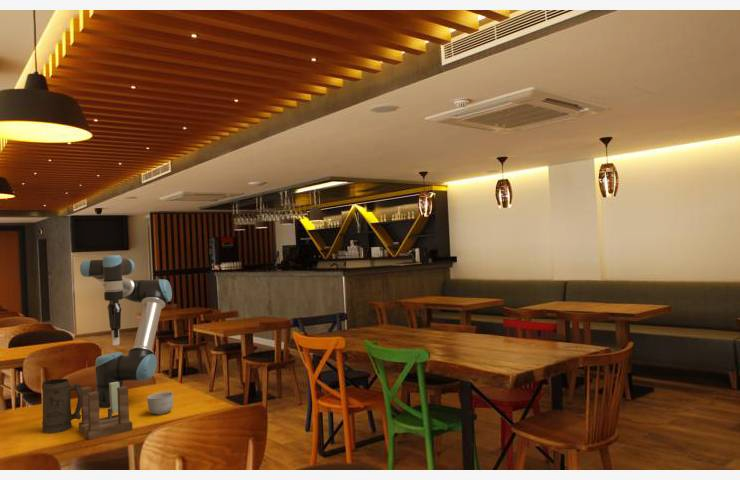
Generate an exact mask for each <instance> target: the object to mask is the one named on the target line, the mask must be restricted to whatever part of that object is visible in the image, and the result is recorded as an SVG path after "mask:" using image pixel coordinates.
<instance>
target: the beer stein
mask: <svg viewBox="0 0 740 480" xmlns="http://www.w3.org/2000/svg"><path fill="white" fill-rule="evenodd" d="M81 388H82V387H81V383H80V382H79V383H78V382H77V383H75V384H73V385H71V384H70V380H69V379H68V378H55V379H49V380H46V381H42V384H41V389H42V422H41V424H42V427H41V431H42V433H46V434H54V433H61V432H66V431H67V430H70V429H71V428H72V426H73V425H72V424H73V423H72V420H74V419H76V420H81V419H82V414H81ZM71 391H75V392H76V395H77V403H76V407H75V410H74V412H73V413H72V403H71V402H72V401H71Z"/></svg>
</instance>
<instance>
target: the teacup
mask: <svg viewBox="0 0 740 480" xmlns="http://www.w3.org/2000/svg"><path fill="white" fill-rule="evenodd" d="M146 399H147V406H148V407H147V408H148V410H149V412H150V413H151V414H153V415H154V416H155V415H156V416H158V415H164V414H167V413H169V412H170V411H171V410H172V409H173V407H174V393H173V392H172V391H163V392H157V393H152V394H150V395H148V396H147V397H146Z"/></svg>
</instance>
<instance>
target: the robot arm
mask: <svg viewBox="0 0 740 480" xmlns="http://www.w3.org/2000/svg"><path fill="white" fill-rule="evenodd" d="M135 268H136V265H135V262H134V261H133V260H132V259H131V258H122V256H121V255H120V254H113V255H112V254H111V255H104V256H103V257H102V259H87V260H83V261H82V262H80V266H79V272H80V274H81V276H82V277H84V278H85V277H86V278H87V277H88V278H91V277H92V278H94V279H96V280H97V281H99V282H100V283H102V286H103V290H104V293H103V299H104V301H106V302H107V301H109V302H108V306H107V311H108V321H109V328H110V330H111V344H112V346H118V345H120V343H121V342H120V330H121V328H122V327H121V326H122V325H121V321H122V320H121V319H122V315H121V313H122V307H121V304H120V302H119V301H120V300H121V301H122V300H123V299H125V300H128V301H130V302H134V303H141V305H143V307H142V310H141V311H142V312H141V316H140V319H139V323H138V327H137V331H136V336H135V339H134V344H133V347H131V348H130V349H129V350H128V354H127V355H123V352H121V351H117V352H112V353H106V354H103V355H100V356H98V357H96V359H95V365H94V368H95V385H96V386H95V387H96V388H95V391H97V392H98V393H99V408H110V392H109V383H112V382H119V386H120V387H123V386H124V381H126V382H127V381H128V382H129V381H130V382H131V381H146V380H150V379H151V378H153V376H154V375H155V373H156V370H157V367H158V365H157V362H158V359H157V358H158V357H156V355H155V353H154V351H153V347H154V343H155V339H156V334H157V330H158V325H159V320H160V316H161V312H162V309H164V308H165V307H166V304H167V303H168V302H171V300H172V298H173V297H172V296H173V291H172V286H171V283H170V282H169V280H167V279H162V278H158V279H135V280H134V279H131V278H128V277H124V276H128V275H131V274H132V273H133V272H134V270H135Z"/></svg>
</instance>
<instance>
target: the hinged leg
mask: <svg viewBox="0 0 740 480" xmlns="http://www.w3.org/2000/svg"><path fill="white" fill-rule="evenodd" d="M118 387H120V386H119V382H112V383H109V392H110V407H109V409H111V410H112V414H116V413H117V414H118V395H117V388H118Z"/></svg>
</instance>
